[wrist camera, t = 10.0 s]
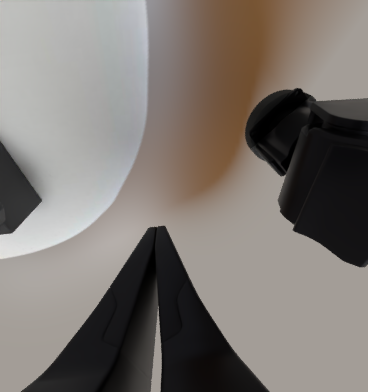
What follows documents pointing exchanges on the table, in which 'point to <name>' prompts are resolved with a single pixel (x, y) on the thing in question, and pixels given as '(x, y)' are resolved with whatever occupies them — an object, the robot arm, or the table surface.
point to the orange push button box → (14, 194)
